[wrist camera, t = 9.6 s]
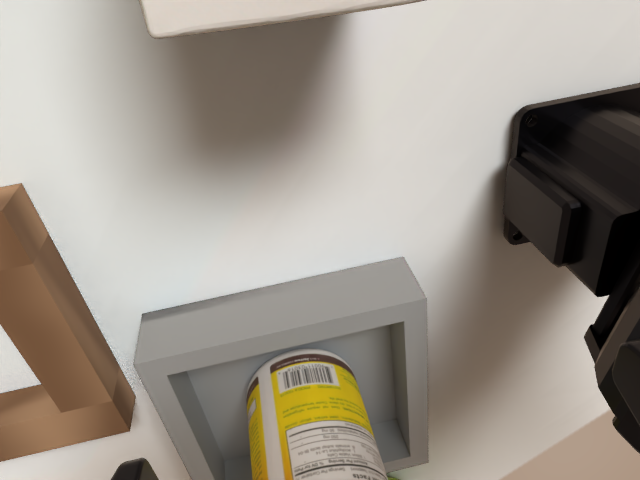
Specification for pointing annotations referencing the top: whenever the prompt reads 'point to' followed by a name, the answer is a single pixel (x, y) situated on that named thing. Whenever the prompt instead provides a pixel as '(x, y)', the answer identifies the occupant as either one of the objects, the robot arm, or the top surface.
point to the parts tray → (282, 336)
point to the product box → (243, 13)
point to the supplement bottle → (309, 421)
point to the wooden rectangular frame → (52, 344)
